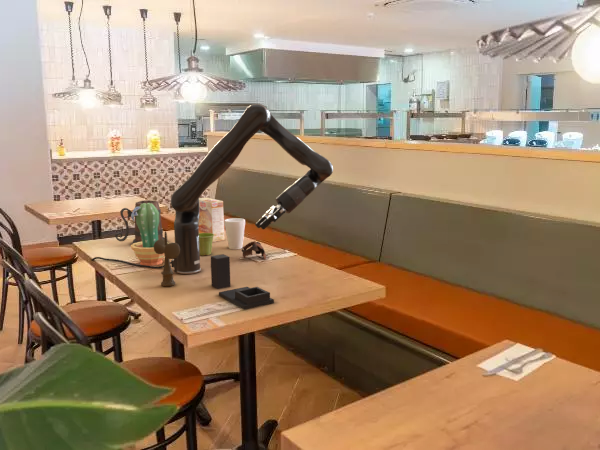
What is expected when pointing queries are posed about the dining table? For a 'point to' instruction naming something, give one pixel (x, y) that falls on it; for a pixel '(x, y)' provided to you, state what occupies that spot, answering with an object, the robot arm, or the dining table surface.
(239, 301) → the base pad
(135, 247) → the potted cactus
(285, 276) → the dining table surface
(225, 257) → the post
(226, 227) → the foam cup
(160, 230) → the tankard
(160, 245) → the kendama
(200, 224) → the coffeecake box
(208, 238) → the plant pot
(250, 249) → the brown curved piece
